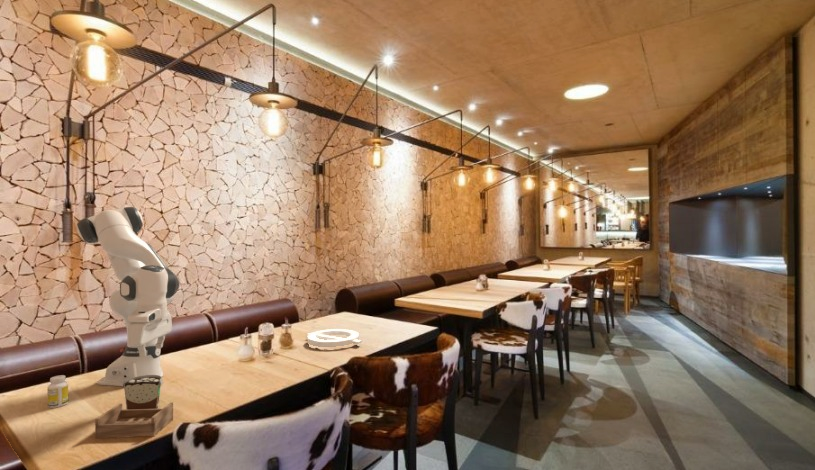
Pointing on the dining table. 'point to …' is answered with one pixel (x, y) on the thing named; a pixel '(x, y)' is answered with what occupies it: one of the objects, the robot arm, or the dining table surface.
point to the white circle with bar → (333, 338)
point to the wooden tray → (132, 422)
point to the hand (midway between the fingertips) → (151, 352)
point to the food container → (142, 392)
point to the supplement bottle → (57, 392)
